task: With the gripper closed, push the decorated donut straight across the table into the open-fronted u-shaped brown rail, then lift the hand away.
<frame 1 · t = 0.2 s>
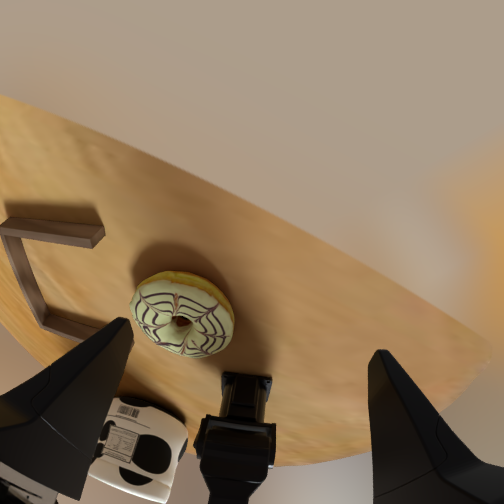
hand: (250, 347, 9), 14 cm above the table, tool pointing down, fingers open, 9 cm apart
u-shaped brown rail: (70, 283, 29), on the table
decorated donut: (187, 303, 29), on the table
milk container: (149, 411, 47), on the table
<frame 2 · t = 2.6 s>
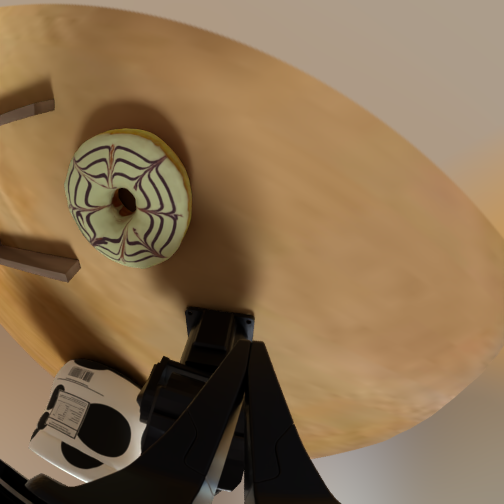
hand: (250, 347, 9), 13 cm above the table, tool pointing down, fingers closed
u-shaped brown rail: (17, 190, 21), on the table
decorated donut: (137, 190, 21), on the table
milk container: (113, 382, 38), on the table
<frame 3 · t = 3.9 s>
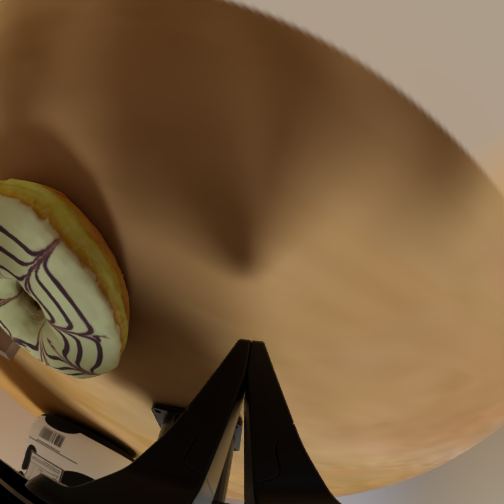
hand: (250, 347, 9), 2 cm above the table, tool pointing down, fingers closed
decorated donut: (58, 265, 12), on the table
milk container: (92, 436, 29), on the table
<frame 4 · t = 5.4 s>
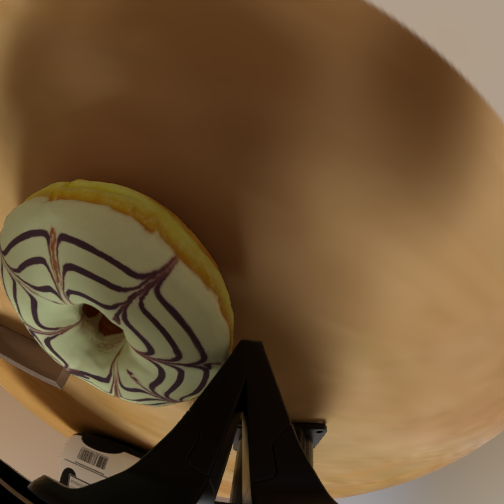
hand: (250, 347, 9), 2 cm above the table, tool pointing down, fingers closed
decorated donut: (125, 282, 12), on the table, touching gripper
milk container: (129, 451, 29), on the table
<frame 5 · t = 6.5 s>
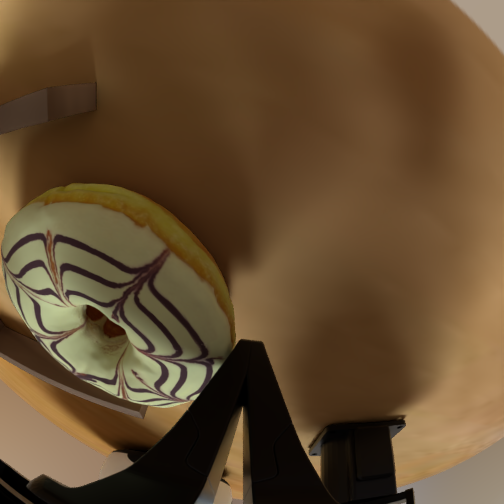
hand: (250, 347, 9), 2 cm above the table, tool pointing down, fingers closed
u-shaped brown rail: (19, 265, 12), on the table
decorated donut: (128, 284, 12), on the table, touching gripper
milk container: (172, 463, 29), on the table
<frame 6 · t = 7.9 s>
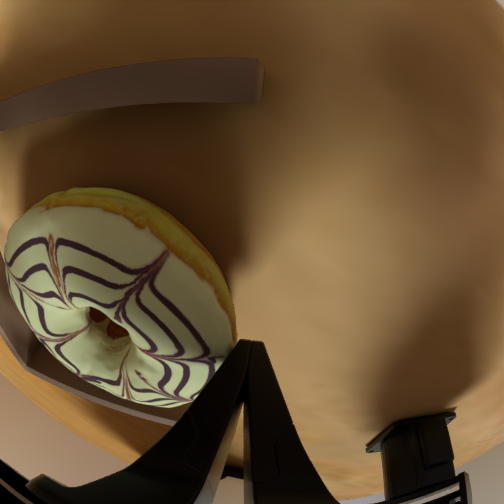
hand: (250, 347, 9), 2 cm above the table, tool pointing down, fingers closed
u-shaped brown rail: (87, 278, 12), on the table
decorated donut: (130, 285, 12), on the table, touching gripper
milk container: (210, 471, 29), on the table
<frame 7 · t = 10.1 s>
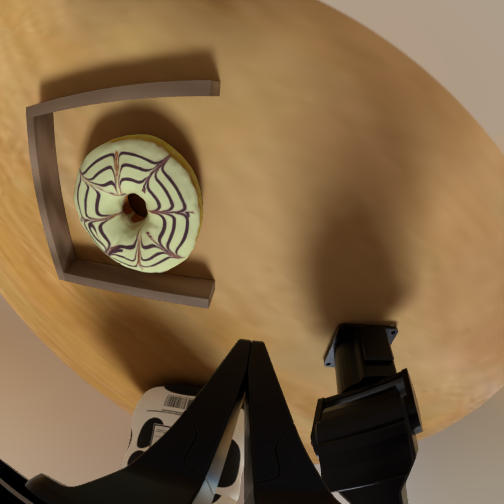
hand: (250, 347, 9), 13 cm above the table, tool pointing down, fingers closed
u-shaped brown rail: (125, 192, 21), on the table
decorated donut: (147, 196, 21), on the table
milk container: (199, 404, 38), on the table
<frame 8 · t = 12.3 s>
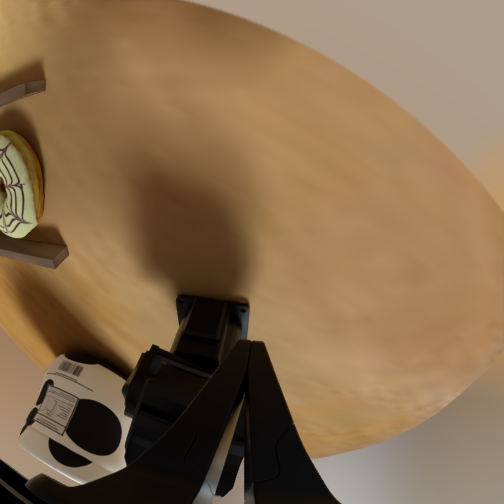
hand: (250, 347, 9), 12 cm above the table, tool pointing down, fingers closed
u-shaped brown rail: (7, 176, 20), on the table
decorated donut: (19, 177, 20), on the table
milk container: (105, 378, 37), on the table
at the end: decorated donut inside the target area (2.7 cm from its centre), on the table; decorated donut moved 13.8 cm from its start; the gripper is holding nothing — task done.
